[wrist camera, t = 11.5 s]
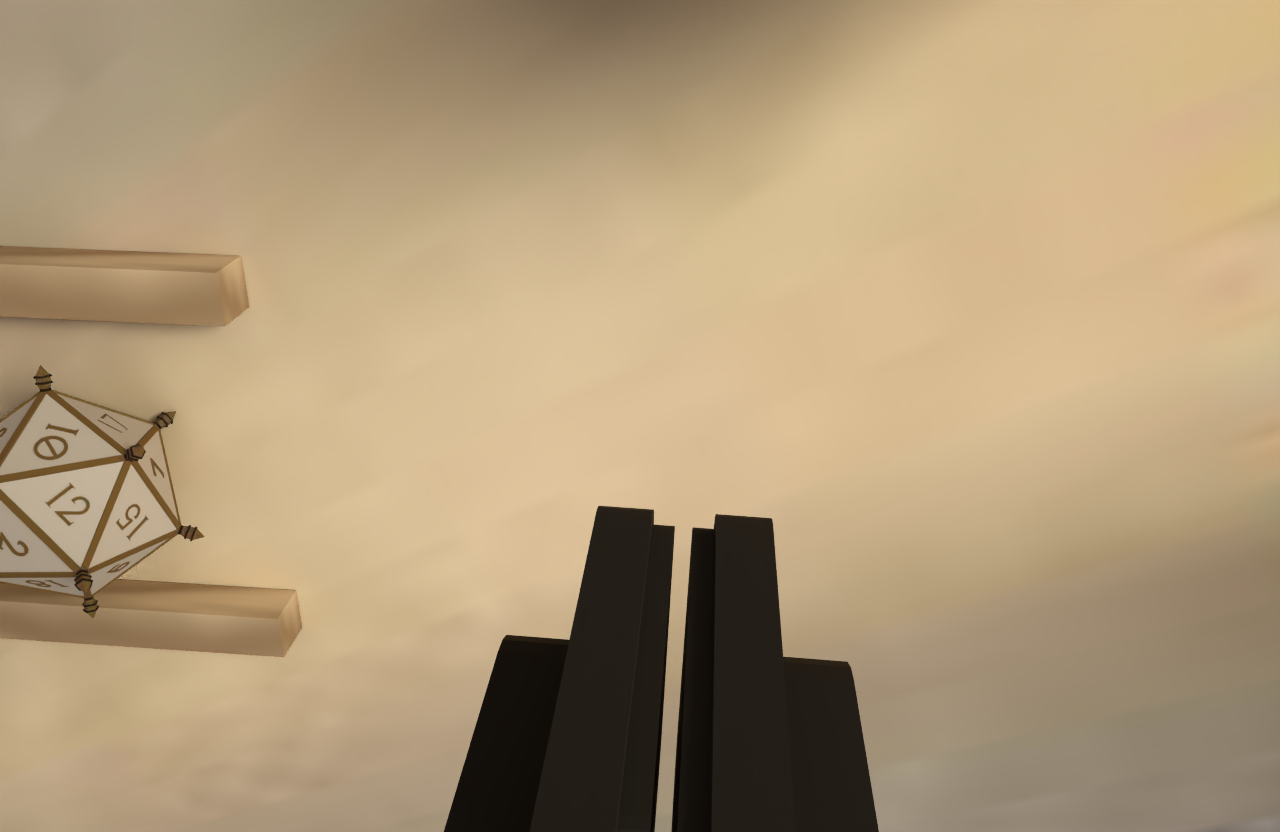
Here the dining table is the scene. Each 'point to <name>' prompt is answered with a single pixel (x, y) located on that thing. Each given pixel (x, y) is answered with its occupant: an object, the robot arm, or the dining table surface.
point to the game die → (81, 494)
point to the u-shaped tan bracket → (128, 606)
